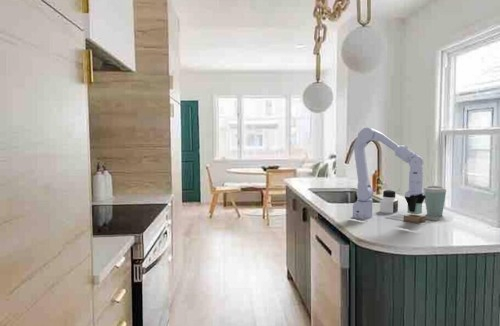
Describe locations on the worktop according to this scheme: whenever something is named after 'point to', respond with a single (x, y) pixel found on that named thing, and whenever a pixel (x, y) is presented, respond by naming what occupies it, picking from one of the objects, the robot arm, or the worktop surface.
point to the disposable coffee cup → (434, 200)
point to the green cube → (416, 209)
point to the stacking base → (401, 218)
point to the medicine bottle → (389, 202)
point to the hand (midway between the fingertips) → (414, 211)
